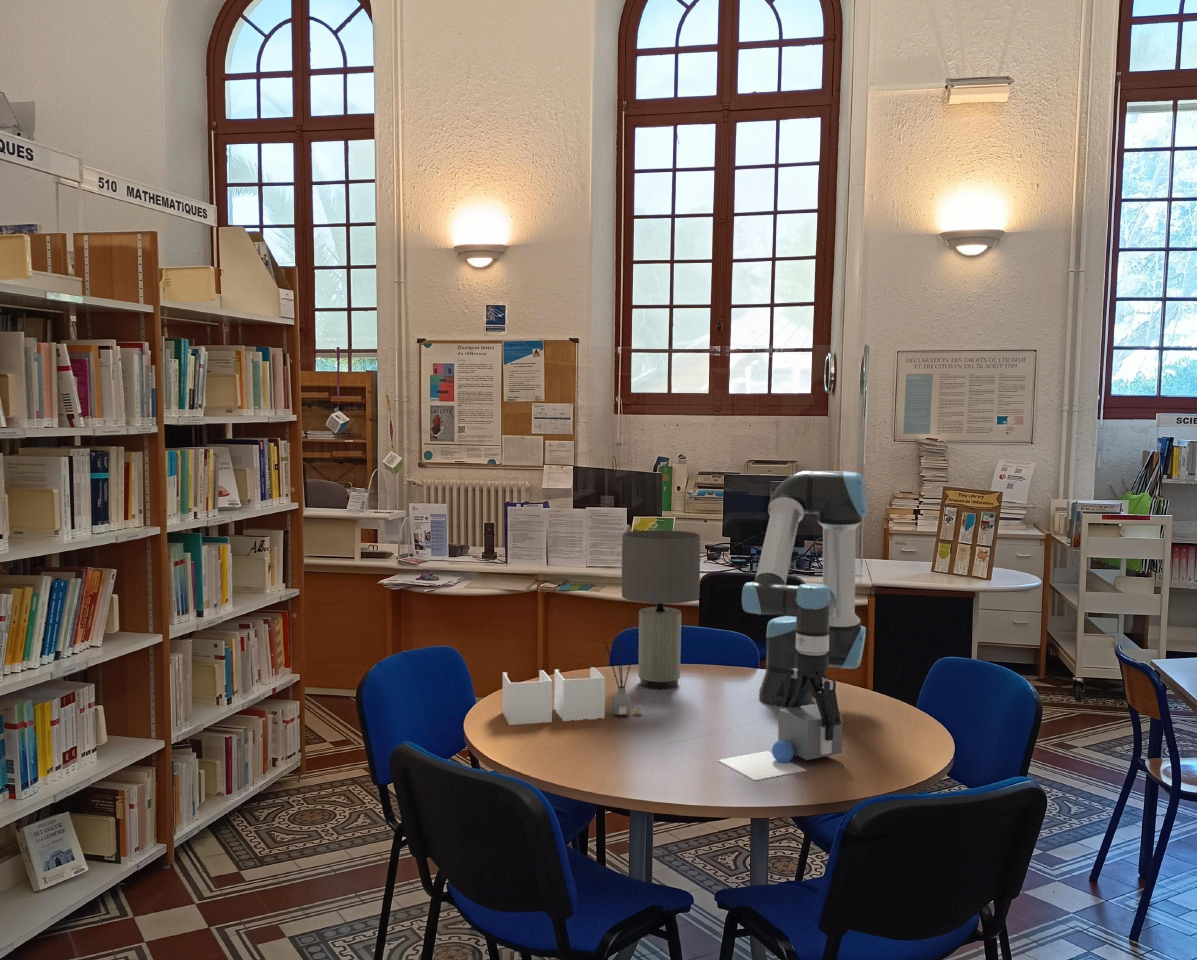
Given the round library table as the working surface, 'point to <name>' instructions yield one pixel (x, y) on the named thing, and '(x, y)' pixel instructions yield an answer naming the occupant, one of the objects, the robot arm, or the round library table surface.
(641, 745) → the round library table surface
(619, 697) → the reed diffuser
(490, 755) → the round library table surface
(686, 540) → the lamp
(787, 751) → the ball
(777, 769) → the white flat square plate
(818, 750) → the block
